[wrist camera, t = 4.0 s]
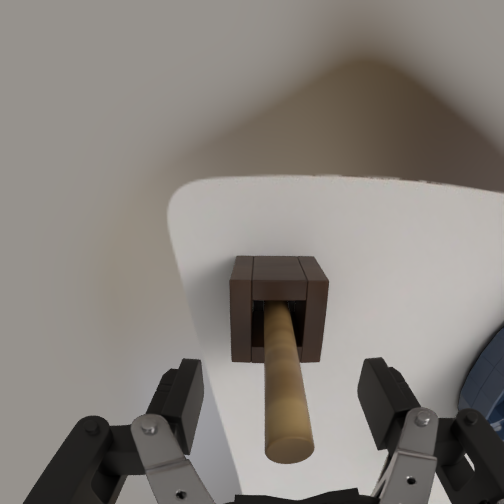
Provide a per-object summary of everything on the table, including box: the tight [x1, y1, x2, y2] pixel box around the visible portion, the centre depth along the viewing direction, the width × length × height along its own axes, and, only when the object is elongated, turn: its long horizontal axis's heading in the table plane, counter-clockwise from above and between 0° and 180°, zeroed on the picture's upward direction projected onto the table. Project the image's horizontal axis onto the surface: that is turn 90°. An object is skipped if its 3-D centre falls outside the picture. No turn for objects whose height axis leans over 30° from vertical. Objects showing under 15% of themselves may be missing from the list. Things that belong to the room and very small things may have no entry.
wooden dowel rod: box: [264, 300, 314, 464], centre depth 15 cm, size 2×2×14 cm
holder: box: [229, 256, 329, 363], centre depth 19 cm, size 5×5×5 cm
